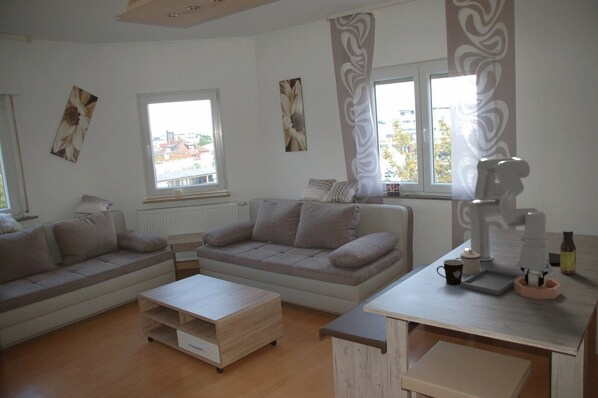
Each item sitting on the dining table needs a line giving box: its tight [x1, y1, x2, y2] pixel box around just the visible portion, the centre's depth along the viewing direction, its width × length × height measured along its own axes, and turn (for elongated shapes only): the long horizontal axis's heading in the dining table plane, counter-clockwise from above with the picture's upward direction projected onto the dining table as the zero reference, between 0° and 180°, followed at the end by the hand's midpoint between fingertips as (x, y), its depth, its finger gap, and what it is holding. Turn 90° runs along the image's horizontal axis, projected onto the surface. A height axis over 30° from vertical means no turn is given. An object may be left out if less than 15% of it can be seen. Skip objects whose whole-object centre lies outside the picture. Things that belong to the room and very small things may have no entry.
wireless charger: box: [548, 252, 560, 267], centre depth 229 cm, size 18×18×2 cm
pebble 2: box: [534, 275, 547, 289], centre depth 191 cm, size 5×5×5 cm
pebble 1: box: [528, 271, 540, 287], centre depth 186 cm, size 5×5×5 cm
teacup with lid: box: [454, 248, 481, 277], centre depth 218 cm, size 12×9×12 cm
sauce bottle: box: [559, 229, 577, 275], centre depth 208 cm, size 7×6×20 cm
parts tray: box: [459, 268, 523, 297], centre depth 201 cm, size 17×24×2 cm
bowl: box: [513, 276, 562, 300], centre depth 189 cm, size 16×16×4 cm
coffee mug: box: [436, 258, 464, 287], centre depth 206 cm, size 12×9×10 cm
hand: (534, 284), depth 187 cm, fingers closed on pebble 1, 4 cm apart
